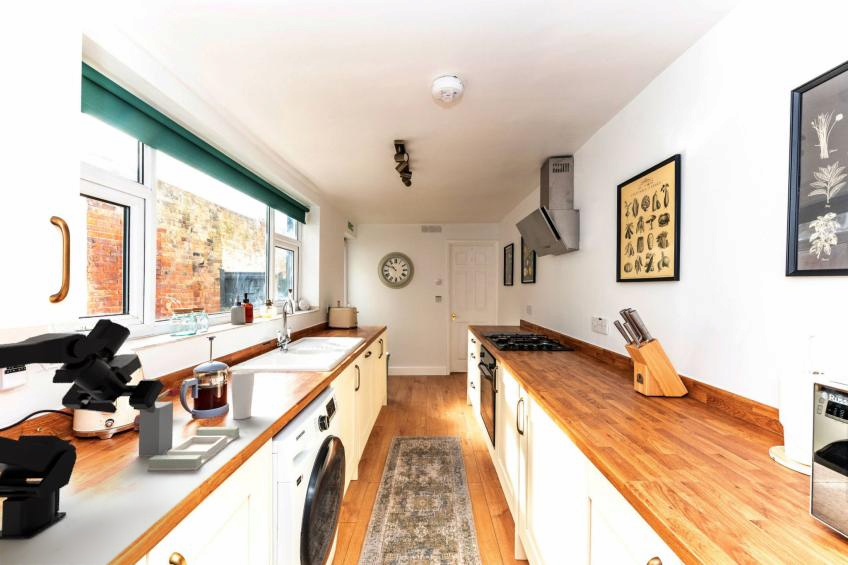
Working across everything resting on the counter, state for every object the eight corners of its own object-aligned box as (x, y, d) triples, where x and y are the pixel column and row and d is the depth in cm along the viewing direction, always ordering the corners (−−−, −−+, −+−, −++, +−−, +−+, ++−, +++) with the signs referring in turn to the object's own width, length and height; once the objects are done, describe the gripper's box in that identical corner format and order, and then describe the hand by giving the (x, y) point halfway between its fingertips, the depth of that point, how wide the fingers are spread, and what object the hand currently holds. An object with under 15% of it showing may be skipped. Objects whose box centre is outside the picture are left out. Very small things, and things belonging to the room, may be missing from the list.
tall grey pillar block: (158, 455, 90) (159, 407, 91) (138, 455, 90) (139, 407, 91) (172, 447, 95) (173, 401, 96) (153, 447, 95) (154, 401, 96)
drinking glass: (232, 415, 120) (233, 370, 121) (254, 413, 122) (255, 369, 123) (228, 422, 114) (229, 374, 114) (251, 419, 116) (252, 373, 116)
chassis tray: (196, 469, 83) (196, 459, 83) (148, 470, 83) (148, 459, 83) (239, 435, 103) (239, 426, 103) (200, 435, 103) (200, 426, 103)
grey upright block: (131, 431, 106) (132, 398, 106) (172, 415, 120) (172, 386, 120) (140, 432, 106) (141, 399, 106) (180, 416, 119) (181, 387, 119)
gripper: (159, 344, 81) (189, 381, 92) (75, 344, 81) (115, 381, 91) (130, 388, 73) (167, 423, 84) (37, 389, 73) (86, 423, 83)
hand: (134, 411), depth 86 cm, fingers open, 9 cm apart
